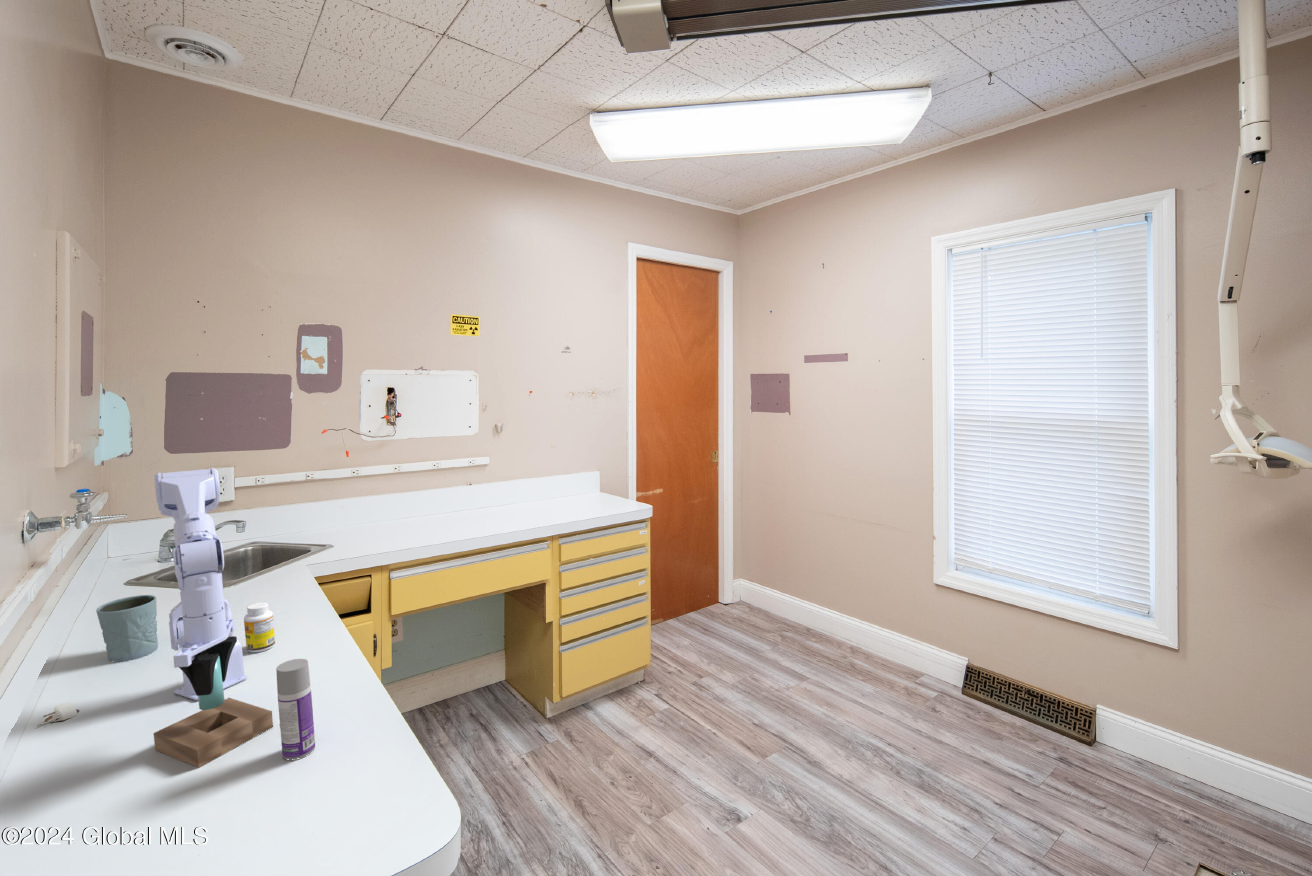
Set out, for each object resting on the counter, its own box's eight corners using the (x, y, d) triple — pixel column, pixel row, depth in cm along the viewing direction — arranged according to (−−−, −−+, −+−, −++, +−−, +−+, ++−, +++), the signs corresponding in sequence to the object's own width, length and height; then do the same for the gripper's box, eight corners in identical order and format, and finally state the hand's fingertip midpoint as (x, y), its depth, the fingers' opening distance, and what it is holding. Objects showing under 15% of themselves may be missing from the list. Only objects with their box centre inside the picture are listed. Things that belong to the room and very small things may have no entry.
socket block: (230, 712, 111) (229, 697, 111) (273, 727, 106) (271, 711, 106) (155, 750, 100) (153, 733, 100) (199, 767, 95) (197, 749, 95)
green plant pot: (172, 644, 141) (167, 595, 139) (131, 665, 131) (125, 612, 129) (133, 643, 142) (128, 594, 140) (89, 663, 132) (83, 611, 130)
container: (310, 739, 102) (304, 655, 101) (319, 751, 99) (312, 664, 97) (279, 751, 99) (272, 665, 98) (286, 764, 96) (279, 674, 94)
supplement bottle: (246, 647, 139) (242, 604, 138) (274, 640, 142) (271, 599, 141) (246, 656, 134) (243, 612, 133) (276, 649, 137) (272, 606, 136)
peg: (207, 699, 104) (202, 655, 103) (229, 697, 104) (224, 654, 104) (194, 710, 100) (188, 665, 100) (216, 708, 101) (211, 663, 100)
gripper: (202, 597, 107) (209, 670, 109) (148, 630, 93) (157, 713, 94) (245, 594, 108) (251, 666, 110) (199, 626, 94) (207, 708, 96)
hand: (211, 687), depth 102 cm, fingers closed on peg, 3 cm apart
